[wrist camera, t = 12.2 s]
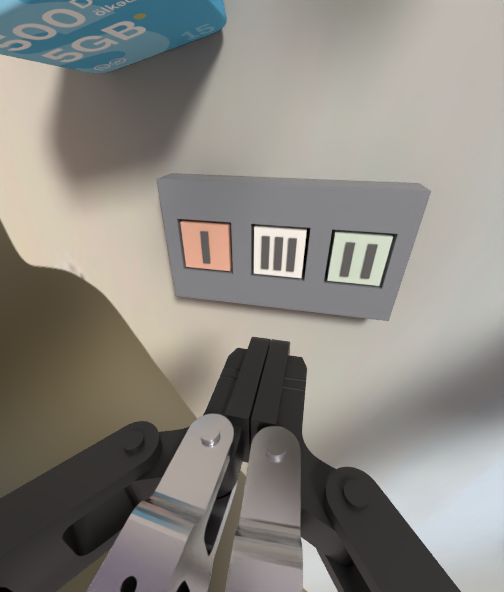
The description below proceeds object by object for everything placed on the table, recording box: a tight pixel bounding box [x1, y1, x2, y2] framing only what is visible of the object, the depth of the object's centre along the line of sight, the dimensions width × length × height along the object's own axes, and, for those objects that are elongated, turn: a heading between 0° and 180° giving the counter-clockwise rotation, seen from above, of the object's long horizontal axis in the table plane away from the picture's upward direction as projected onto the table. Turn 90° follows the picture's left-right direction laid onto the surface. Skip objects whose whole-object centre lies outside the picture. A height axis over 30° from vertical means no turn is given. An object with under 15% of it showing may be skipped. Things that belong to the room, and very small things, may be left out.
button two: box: [327, 230, 393, 286], centre depth 26 cm, size 5×5×3 cm
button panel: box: [157, 174, 431, 321], centre depth 27 cm, size 22×12×3 cm, turn 89°
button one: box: [180, 219, 233, 271], centre depth 28 cm, size 5×5×3 cm
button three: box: [254, 224, 307, 278], centre depth 27 cm, size 5×5×3 cm
